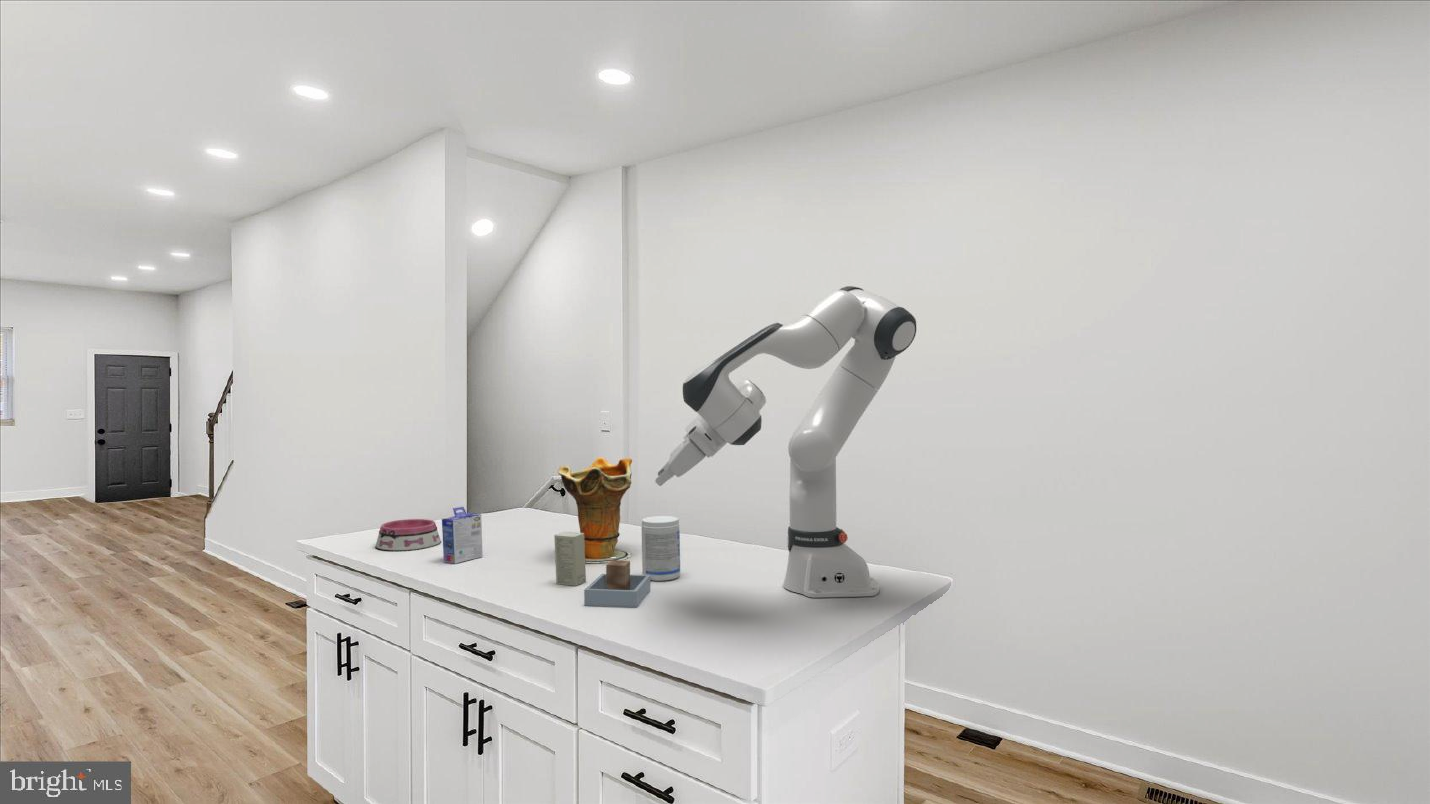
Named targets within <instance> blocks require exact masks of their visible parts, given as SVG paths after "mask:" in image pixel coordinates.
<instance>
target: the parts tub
mask: <svg viewBox="0 0 1430 804" xmlns="http://www.w3.org/2000/svg"><path fill="white" fill-rule="evenodd" d="M650 589H652V588H651V580H650V575H643V574H630V590H607V589H606V573H601V574H600V575H599V576H598V577H596V578H595V580H593V581H592V582H591V583H590V584H589V585H588V586H587V587H586V588H584V591H583V592H584V593H583V595H584V597H583V601H584V602H583V603H584V606H585V607H586V606H587V607H611V608H612V607H613V608H614V607H615V608H616V607H617V608H638V606H639V605H640V604H641V602H642V601H643V600H644V599H645V598H646V597H647V595H648V594H649V592H650V591H651V590H650Z"/></svg>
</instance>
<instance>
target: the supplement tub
mask: <svg viewBox="0 0 1430 804" xmlns="http://www.w3.org/2000/svg"><path fill="white" fill-rule="evenodd" d="M679 522H680V521H679V518H678V517H676V516H672V515H671V516H670V515H658V516H657V515H656V516H654V515H653V516H647V517H644V518H642V520H641V554H642V555H641V561H642V562H641V564H642V565H641V566H642V575H650V581H653V582H654V581H655V582H661V581H662V582H663V581H671V580H675V579H677V578H679V576H680V575H681V546H680V545H681V544H680V543H681V540H680V538H681V537H680V535H681V534H680V532H681V531H680V523H679Z"/></svg>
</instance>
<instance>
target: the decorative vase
mask: <svg viewBox="0 0 1430 804" xmlns="http://www.w3.org/2000/svg"><path fill="white" fill-rule="evenodd" d="M632 462H633V459H632V458H621V459H619V461H618V463H617V464H615V465H613V464H611V463H610V462H609V461H607V459H606V458H604V457H602V456H601V457H598V458H596V459H595V460H594V461H593V463H592V464H591V466H590V467H589V466H588V467H587V468H585V469H580V470H573V471H572V470H571V467H570V466H569V465H563V466H560V467H559V468H558V470H557V474H558V475H560V477H561V481H562V484H563V487H564V490H566V492H567V493H568V494H569V495H570V496H571V497H572V498H573V499H574V500H575V503H576V504H575V505H576V507H577V519H578V526H579V533H584V544H585V564H590V563H591V564H599V563H609V562H610V561H611V560H621V561H626V559H628V558H630V557H632V554H631V552H628V551H626V550H621V549H616V546H617V544H618V543H619V540H618V538H619V537H620V532H619V529H620V522H621V503H622V499H623V497H624V495H625V494H626V493H627V491H628V490H629V489H630V488H631V485H632V474H633V472H632V470H631V466H632V465H631V464H632ZM611 557H616V558H611ZM627 557H628V558H627Z"/></svg>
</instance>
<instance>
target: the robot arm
mask: <svg viewBox="0 0 1430 804" xmlns="http://www.w3.org/2000/svg"><path fill="white" fill-rule="evenodd" d="M916 334H917V319H916V317H914V315H913V314H912V313H911V312H910V311H909V310H907V309H906V308H904V307H901V306H900V305H897V304H896V303H894V302H893V301H891V300H890V299H888V298H886V297H883V296H881V295H877V294H876V293H872V292H869V291H866V290H864V289H863V288H861V287H857V286H853V285H851V286H849V285H847V286H844V287H841V288H840V289H838V290H834V291H832V292H831V293H829V294H828V295H826V296H825V297H823V298H822V299H820V300H819V301H818V302H816V303H815V304H813V305H812V306H811V307H810V308H809V309H808V310H807V311H806V312H805V313H804V314H802V315H801V316H800V317H799V318H798V319H796V320H794V321H793V322H791V323H787V324H782V323H779V322H775V323H772V324H769V325H768V326H765V327H764V328H762V329H760V330H759V331H757V332H756V333H755V334H752V335H751V336H749V337H747V338H746V339H745V340H743V341H741V342H740V343H738V344H737V345H736V346H734V347H732V348H731V349H729V350H728V351H726V352H725V353H723V355H720V356H719V357H718V358H716V359H715V360H713V361H712V362H710V363H708V364H705V365H703V366H701V367H698V368H697V369H696V370H694V371H693V372H692V373H690V374H689V375H688V376H687V377H686V379H685V381H684V382H683V384H682V398H683V402H684V403H685V404H686V405H687V406H689V408H691V409H692V410H693V411H694V412H696V413H697V414H698V415H697V416H696V417H695V418H694V419H693V420H692V421H691V422H690V423H689V424H688V425H686V426H685V428H684V429H685V432H686V434H685V435H684V436H683V441H682V442H681V443H680V444H678V446H676V448H674V449H673V450H672V451H671V453H670V454H669V458H668V460H667V462H666V463H665V464H664V466H663V467H662V468H661V469H660V470H659V471H658V472H657V477H656V478H655V483H656V484H657V486H659V487H662V486H663V485H664V484H665V483H666V482H667V481H669V480H670V479H672V478H673V477H674V476H676V477H677V478H680V477H681V476H683V475H685V474H686V473H687V472H689V471H690V470H692V469H693V468H695V466H697V465H698V464H699V463H700V462H702V460H704V459H705V458H706V457H707V458H710V457H712V458H713V456H715V455H716V454H717V453H718V452H720V450H721V449H722V448H723V447H725V445H727V443H728V444H730V445H732V446H745V445H746V444H747V443H748V442H749V441H750V440H751V439H752V438H753V437H754V436H755V435H756V434H757V433H759V432H760V431H761V430H762V415H761V413H760V411H761V410H762V409H763V407H764V406H765V405H766V403H767V399H766V396H765V395H764V393H763V392H762V390H761V389H760V388H759V387H758V386H757V384H755V383H753V381H751V380H749V379H746V378H742V379H740V380H738V381H737V382H736V383H733V382H732V381H731V380H730V377H729V376H730V374H731V373H732V372H734V371H735V370H737V369H738V368H740V367H741V366H743V365H744V364H745V363H747V362H748V361H750V360H751V359H753V358H755V357H756V356H758V355H760V354H761V355H762V354H766V355H770V356H773V357H776V358H777V359H780V360H781V361H784V362H785V363H787V364H789V365H792V366H795V367H797V368H801V369H807V370H812V369H818V368H821V367H822V366H824V365H825V364H827V363H828V362H829V361H830V360H832V359H833V358H834V357H835V356H836V355H837V354H838V353H839V352H840V351H841V350H842V349H843V348H844V347H845V346H846V345H847V343H849V341H851V339H854V343H853V345H852V347H851V348H850V349H849V350H848V352H847V353H846V354H845V355H844V356H843V358H842V359H841V360H840V362H839V364H838V365H837V367H836V368H835V369H834V371H833V373H832V374H831V376H830V377H829V379H828V380H827V382H826V383H825V385H824V386H823V388H822V389H821V390H820V392H819V394H818V395H817V397H816V399H815V400H814V402H812V403H813V404H811V406H810V407H809V410H807V413H805V416H804V417H803V418H802V420H801V421H800V423H799V425H798V426H797V428H796V429H795V430H794V432H793V433H792V435H791V437H790V439H789V441H788V447H787V448H788V451H787V452H788V455H789V458H790V459H789V460H790V462H789V463H790V464H789V465H790V466H789V467H790V468H789V469H790V470H789V526H788V527H787V528H788V529H787V532H786V533H787V536H786V539H787V541H786V542H787V550H788V558H787V559H788V560H787V565H786V572H785V576H784V581H783V584H782V587H783V588H784V589H786V590H787V591H790V592H794V593H798V594H802V595H804V596H805V597H808V598H814V599H815V598H850V597H853V598H854V597H855V598H856V597H857V598H858V597H875V596H876V595H878V594H879V593H880V585H879V582H878V580H876V579H875V578H873V577H871V574H870V569H869V566H868V564H867V562H866V559H864V558H863V557H862V556H861V555H860V554H859V553H857V551H855V550H854V549H852V548H851V547H849V546H848V544H846V542H847V541H848V534H847V533H846V531H844V530H843V529H842V528H839V527H838V526H837V470H836V469H837V463H836V462H837V460H836V459H837V457H838V455H839V453H840V452H841V450H842V448H843V447H844V445H845V443H846V441H847V440H848V439H849V437H850V436H851V433H852V432H853V430H854V429H855V427H856V426H857V423H858V422H859V420H860V419H861V417H863V415H864V412H866V410H867V408H869V405H870V404H871V402H872V401H873V399H874V398H875V396H876V395H877V393H878V392H879V390H880V389H881V387H882V386H883V384H884V383H885V381H886V380H887V377H888V375H889V373H890V371H891V369H892V367H893V364H894V363H895V359H896V357H897V356H898V355H900V354H902V353H903V352H905V351H906V350H907V349H908V348H909V347H910V346H911V345H912V343H913V341H914V340H915V337H916Z"/></svg>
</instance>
